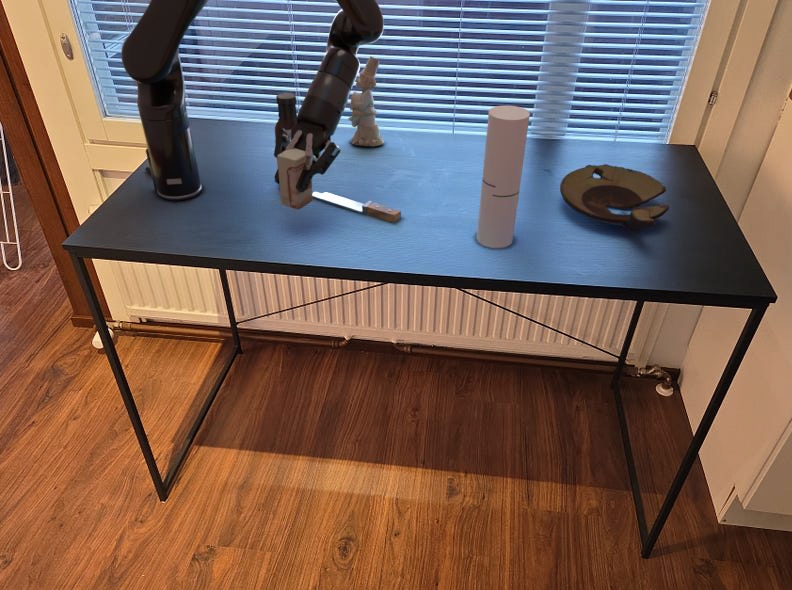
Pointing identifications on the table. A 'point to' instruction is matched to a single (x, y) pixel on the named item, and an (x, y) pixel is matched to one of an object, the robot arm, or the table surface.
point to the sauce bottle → (286, 112)
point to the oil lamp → (613, 195)
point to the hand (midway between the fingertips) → (289, 186)
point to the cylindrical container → (502, 175)
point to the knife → (361, 206)
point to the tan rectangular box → (292, 179)
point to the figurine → (365, 108)
